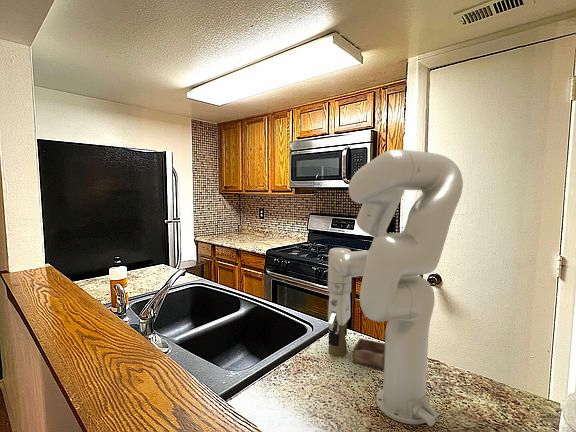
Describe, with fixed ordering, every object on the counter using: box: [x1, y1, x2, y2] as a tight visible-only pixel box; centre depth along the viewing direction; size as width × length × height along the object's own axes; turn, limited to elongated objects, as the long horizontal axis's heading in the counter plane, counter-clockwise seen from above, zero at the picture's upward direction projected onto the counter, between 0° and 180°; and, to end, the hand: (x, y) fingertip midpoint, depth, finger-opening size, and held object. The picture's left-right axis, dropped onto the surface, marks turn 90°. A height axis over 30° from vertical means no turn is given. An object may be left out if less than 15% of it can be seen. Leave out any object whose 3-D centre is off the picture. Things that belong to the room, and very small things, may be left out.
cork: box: [328, 321, 348, 358], centre depth 100 cm, size 6×6×11 cm
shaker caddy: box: [352, 338, 385, 371], centre depth 96 cm, size 9×9×4 cm
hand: (337, 339), depth 100 cm, fingers open, 8 cm apart
